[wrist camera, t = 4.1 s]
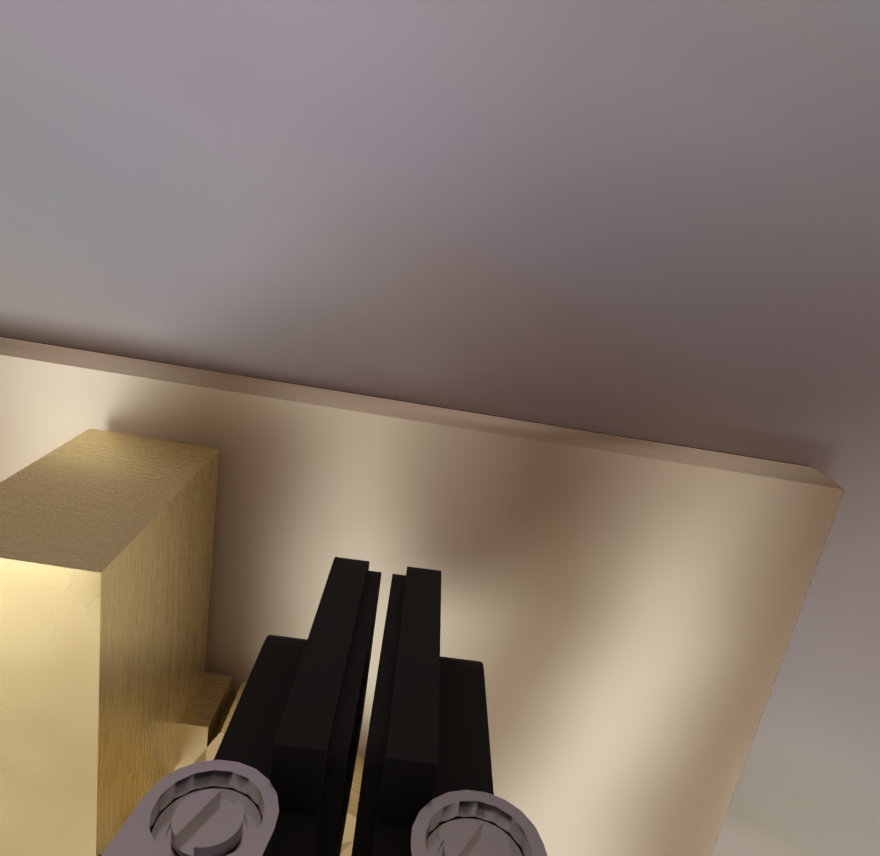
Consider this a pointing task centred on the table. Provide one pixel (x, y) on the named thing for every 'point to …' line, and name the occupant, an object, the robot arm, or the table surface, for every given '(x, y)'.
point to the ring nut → (106, 638)
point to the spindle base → (492, 570)
